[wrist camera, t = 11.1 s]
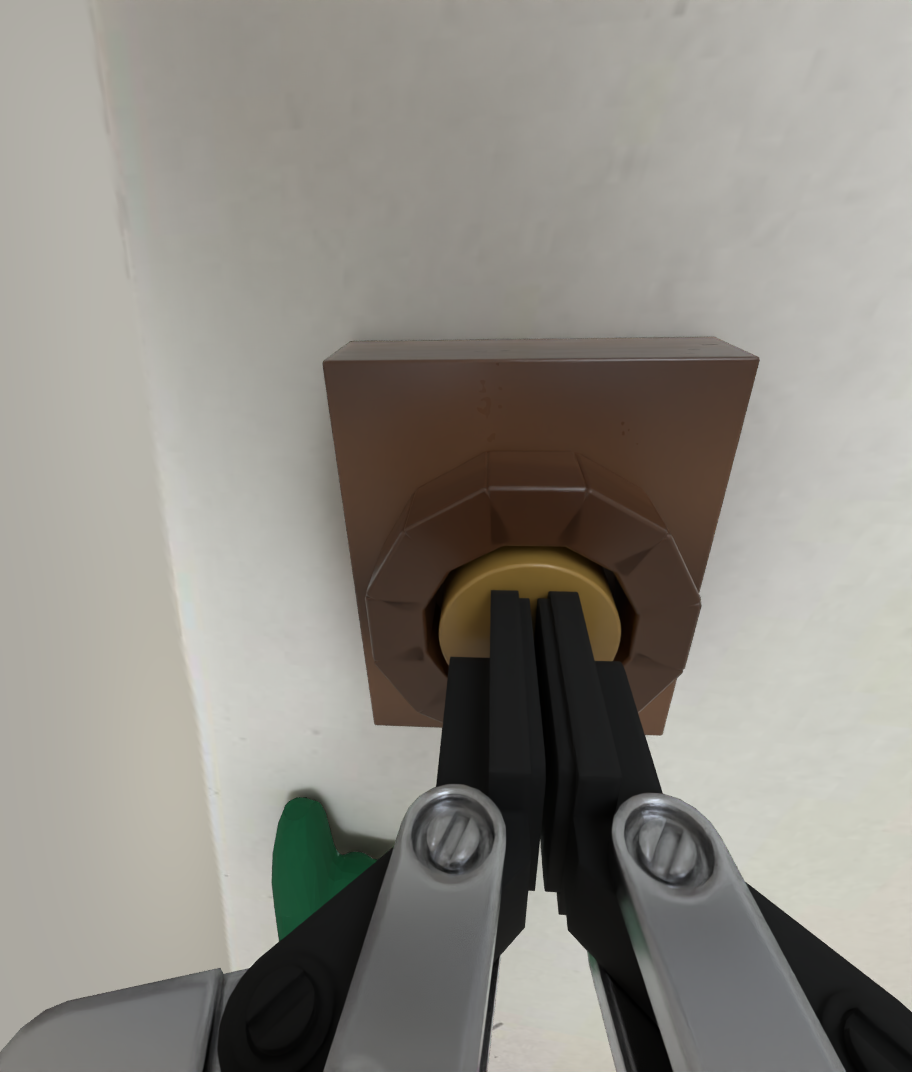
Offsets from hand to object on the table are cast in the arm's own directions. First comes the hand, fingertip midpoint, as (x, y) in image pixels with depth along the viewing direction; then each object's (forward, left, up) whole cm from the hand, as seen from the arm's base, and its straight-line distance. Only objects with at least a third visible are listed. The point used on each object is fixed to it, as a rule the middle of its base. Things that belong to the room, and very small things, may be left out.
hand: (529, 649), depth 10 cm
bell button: (0, 0, -2) cm, 2 cm away
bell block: (0, 0, -4) cm, 4 cm away
